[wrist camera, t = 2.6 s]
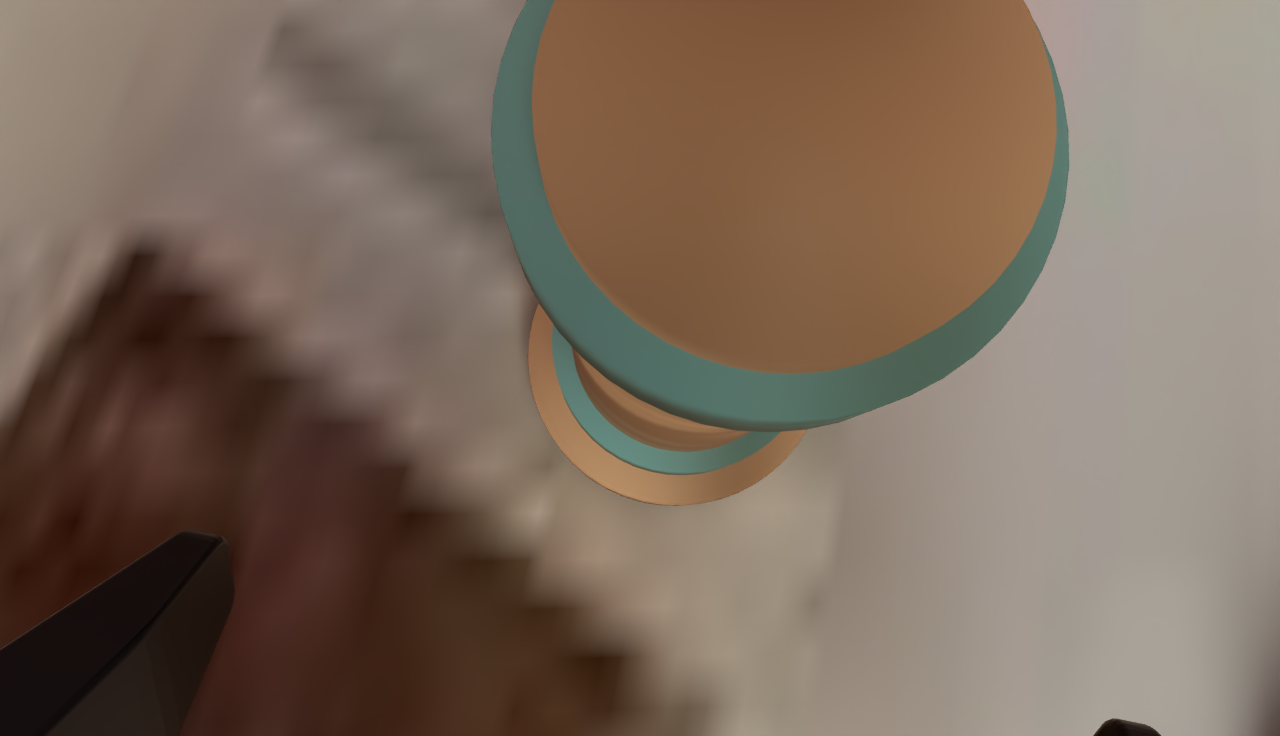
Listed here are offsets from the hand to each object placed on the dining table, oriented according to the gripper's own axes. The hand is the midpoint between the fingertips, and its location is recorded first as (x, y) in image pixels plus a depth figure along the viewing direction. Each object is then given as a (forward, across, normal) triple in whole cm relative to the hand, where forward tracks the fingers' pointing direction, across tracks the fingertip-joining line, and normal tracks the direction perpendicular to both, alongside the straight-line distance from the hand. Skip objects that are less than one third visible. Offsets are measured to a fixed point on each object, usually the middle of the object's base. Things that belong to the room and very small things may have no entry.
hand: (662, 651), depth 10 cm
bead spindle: (+12, 0, +5) cm, 12 cm away
